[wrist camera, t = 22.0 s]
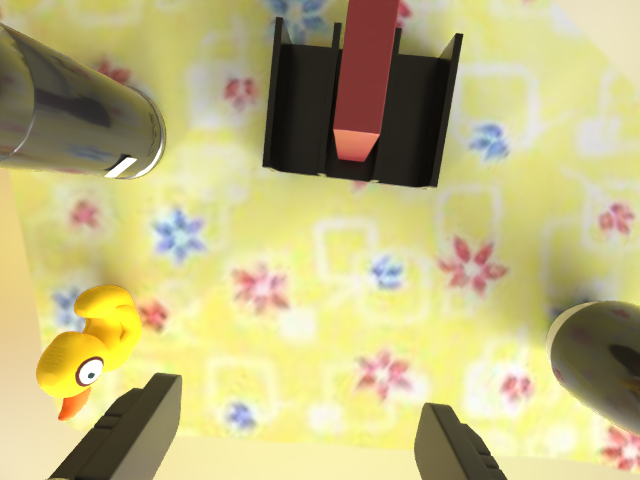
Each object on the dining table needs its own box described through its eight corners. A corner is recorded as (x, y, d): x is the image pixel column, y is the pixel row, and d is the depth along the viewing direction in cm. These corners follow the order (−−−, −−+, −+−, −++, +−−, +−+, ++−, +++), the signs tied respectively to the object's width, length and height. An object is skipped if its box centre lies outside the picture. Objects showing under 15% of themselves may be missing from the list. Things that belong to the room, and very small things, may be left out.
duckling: (149, 373, 37) (79, 437, 27) (106, 367, 38) (21, 428, 28) (150, 279, 36) (76, 311, 26) (105, 274, 36) (14, 304, 26)
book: (338, 159, 31) (332, 129, 17) (349, 72, 30) (352, -33, 16) (364, 162, 31) (380, 135, 17) (376, 74, 30) (403, -29, 16)
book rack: (272, 171, 33) (258, 166, 27) (284, 47, 31) (272, 16, 26) (424, 189, 32) (440, 188, 27) (445, 63, 30) (467, 33, 25)
